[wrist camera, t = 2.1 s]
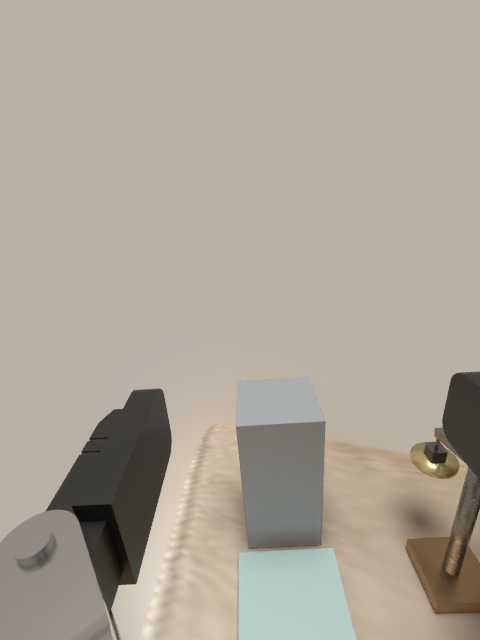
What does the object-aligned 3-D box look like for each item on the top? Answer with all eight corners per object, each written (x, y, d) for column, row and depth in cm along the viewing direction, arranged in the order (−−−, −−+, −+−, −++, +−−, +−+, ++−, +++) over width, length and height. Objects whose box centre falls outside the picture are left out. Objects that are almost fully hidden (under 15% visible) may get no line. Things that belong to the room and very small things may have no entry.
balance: (435, 504, 27) (462, 389, 23) (544, 685, 17) (629, 546, 13) (387, 507, 27) (404, 393, 23) (468, 687, 18) (526, 551, 13)
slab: (332, 554, 24) (333, 548, 24) (362, 676, 18) (364, 669, 18) (239, 559, 24) (238, 552, 24) (239, 681, 18) (238, 674, 18)
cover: (308, 488, 30) (309, 376, 25) (321, 544, 25) (325, 421, 20) (247, 491, 30) (236, 381, 25) (248, 548, 25) (236, 426, 20)
